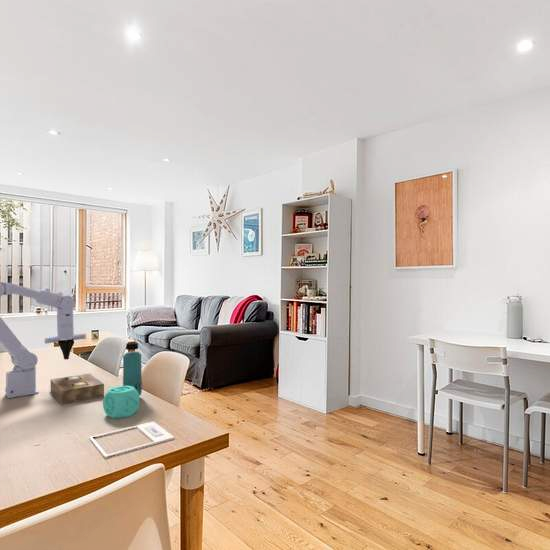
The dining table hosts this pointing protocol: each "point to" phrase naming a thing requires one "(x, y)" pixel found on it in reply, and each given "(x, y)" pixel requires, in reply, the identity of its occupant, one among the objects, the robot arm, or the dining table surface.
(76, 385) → the mustard peg
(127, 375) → the beverage bottle
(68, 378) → the sage peg
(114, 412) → the decorative dice
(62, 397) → the peg block
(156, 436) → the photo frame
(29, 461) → the dining table surface
